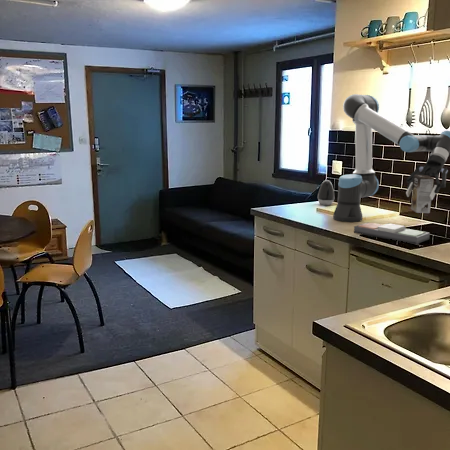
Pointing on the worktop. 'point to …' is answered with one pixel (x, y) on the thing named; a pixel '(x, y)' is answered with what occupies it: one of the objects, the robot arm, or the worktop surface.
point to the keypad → (392, 235)
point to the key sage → (411, 232)
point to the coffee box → (421, 193)
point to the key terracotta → (370, 225)
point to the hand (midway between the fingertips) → (418, 196)
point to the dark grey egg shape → (326, 193)
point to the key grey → (391, 228)
